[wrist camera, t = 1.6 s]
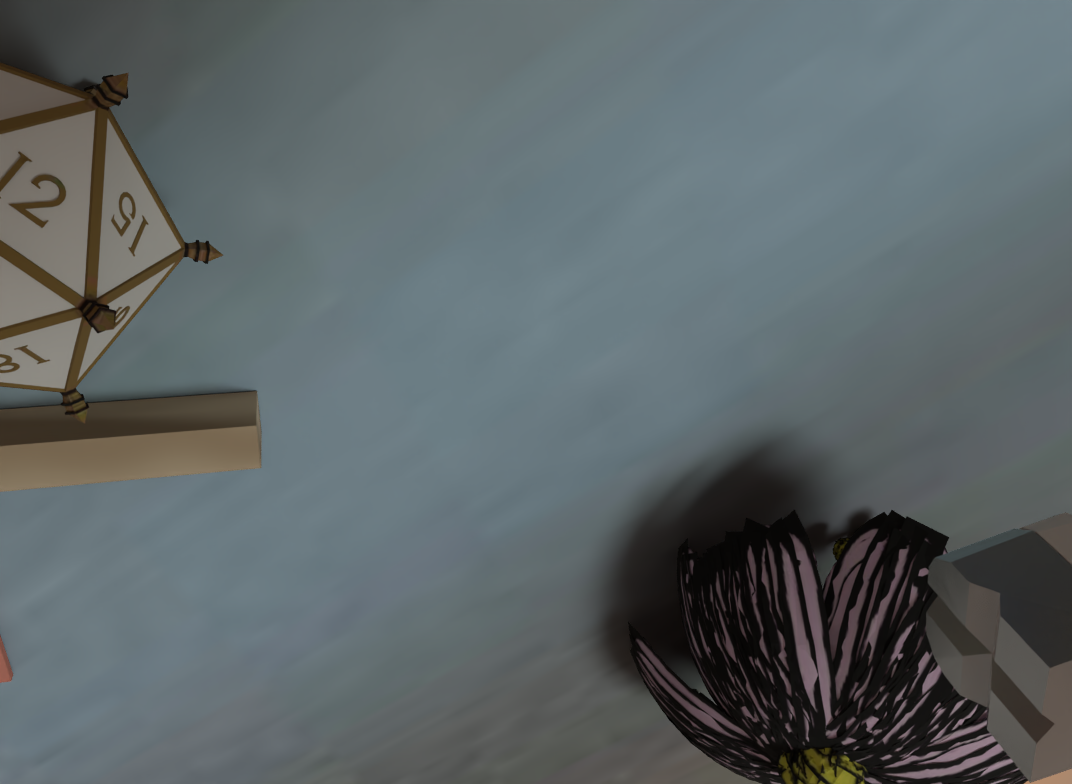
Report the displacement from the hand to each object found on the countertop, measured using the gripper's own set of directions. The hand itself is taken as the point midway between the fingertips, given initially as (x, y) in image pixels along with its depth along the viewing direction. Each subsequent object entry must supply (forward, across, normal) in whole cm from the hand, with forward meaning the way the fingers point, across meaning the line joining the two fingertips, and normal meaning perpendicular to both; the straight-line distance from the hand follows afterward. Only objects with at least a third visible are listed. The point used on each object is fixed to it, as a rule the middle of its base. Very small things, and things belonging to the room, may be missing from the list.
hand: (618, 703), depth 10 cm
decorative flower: (+20, -10, +22) cm, 31 cm away
